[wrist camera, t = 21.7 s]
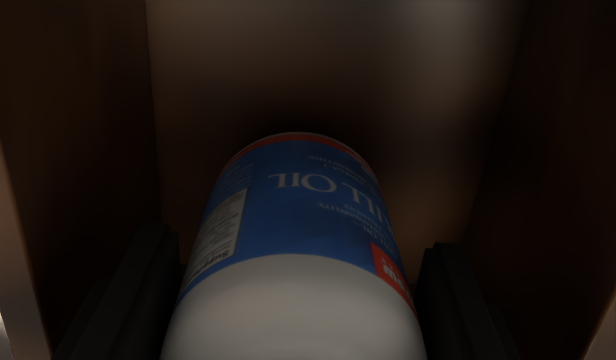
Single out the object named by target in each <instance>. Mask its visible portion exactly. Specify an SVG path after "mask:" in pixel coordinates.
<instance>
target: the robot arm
mask: <svg viewBox="0 0 616 360" xmlns="http://www.w3.org/2000/svg"><path fill="white" fill-rule="evenodd" d="M180 286H181V269H180V252H179V235H178V231H177V230H170V225H169V224H168V223H154V222H143V223H142V224H141V226H140V228H139V230H138V231H137V233H136V235H135V237H134V239H133V241H132V243H131V245H130V246H129V248H128V250H127V252H126V254H125V256H124V258H123V260H122V262H121V263H120V265H119V267H118V269H117V271H116V273H115V275H114V277H113V278H106V277H101V278H99V279H97V281H96V282H95V283H94V285H93V287H92V288H91V290H90V292H89V294H88V295H87V297H86V299H85V301H84V302H83V304H82V306H81V308H80V309H79V311H78V313H77V315H76V316H75V318H74V320H73V322H72V323H71V325H70V327H69V329H68V330H67V332H66V334H65V336H64V337H63V339H62V341H61V343H60V344H59V346H58V348H57V350H56V351H55V353H54V355H53V357H52V358H51V360H159V357H160V353H161V349H162V345H163V341H164V338H165V335H166V331H167V328H168V324H169V321H170V317H171V314H172V311H173V308H174V305H175V302H176V299H177V296H178V293H179V290H180ZM413 301H414V306H415V309H416V311H417V316H418V320H419V323H420V327H421V331H422V335H423V340H424V344H425V349H426V353H427V358H428V360H521V358H520V355H519V353H518V351H517V348H516V346H515V344H514V342H513V339H512V337H511V335H510V332H509V330H508V328H507V325H506V323H505V321H504V318H503V316H502V314H501V312H500V310H499V308H498V306H496V305H495V304H491V303H485V301H484V299H483V296H482V294H481V292H480V289H479V287H478V284H477V282H476V279H475V277H474V274H473V272H472V269H471V267H470V264H469V262H468V259H467V257H466V254H465V252H464V249H463V247H462V245H461V244H456V243H442V242H436V243H434V245H433V248H426V249H425V251H424V255H423V259H422V264H421V268H420V273H419V277H418V282H417V286H416V291H415V295H414V300H413Z"/></svg>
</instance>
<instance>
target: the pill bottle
mask: <svg viewBox="0 0 616 360" xmlns="http://www.w3.org/2000/svg"><path fill="white" fill-rule="evenodd" d="M159 360H428V358H427V353H426V349H425V344H424V340H423V335H422V331H421V327H420V323H419V320H418V316H417V311H416V309H415V306H414V301H413V298H412V294H411V291H410V288H409V283H408V280H407V277H406V274H405V270H404V267H403V263H402V259H401V256H400V253H399V250H398V246H397V242H396V239H395V235H394V232H393V228H392V224H391V221H390V217H389V213H388V209H387V205H386V202H385V198H384V195H383V192H382V189H381V187H380V184H379V182H378V180H377V178H376V176H375V174H374V173H373V171H372V170H371V168H370V167H369V165H368V164H367V163H366V162H365V160H364V159H363V158H362V157H361V156H360V155H358V154H357V153H356V152H355V151H354V150H352V149H351V148H350V147H348V146H347V145H345V144H343V143H341V142H339V141H337V140H335V139H333V138H330V137H327V136H324V135H321V134H317V133H311V132H286V133H279V134H275V135H271V136H268V137H265V138H262V139H259V140H257V141H255V142H253V143H251V144H250V145H248V146H246V147H245V148H243V149H242V150H241V151H239V152H238V153H237V154H236V155H235V156H234V157H233V158H232V159H231V160H230V161H229V162H228V163H227V164H226V165H225V166H224V168H223V169H222V171H221V172H220V174H219V175H218V177H217V179H216V181H215V183H214V185H213V188H212V190H211V193H210V195H209V198H208V201H207V204H206V208H205V211H204V214H203V218H202V221H201V224H200V228H199V231H198V234H197V237H196V240H195V243H194V246H193V249H192V252H191V255H190V258H189V261H188V265H187V268H186V271H185V274H184V277H183V280H182V283H181V286H180V290H179V293H178V296H177V299H176V302H175V305H174V308H173V311H172V314H171V317H170V321H169V324H168V328H167V331H166V335H165V338H164V341H163V345H162V349H161V353H160V357H159Z"/></svg>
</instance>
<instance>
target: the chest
mask: <svg viewBox="0 0 616 360" xmlns="http://www.w3.org/2000/svg"><path fill="white" fill-rule="evenodd" d="M286 132H311V133H317V134H321V135H324V136H327V137H330V138H333V139H335V140H337V141H339V142H341V143H343V144H345V145H347V146H348V147H350V148H351V149H352V150H354V151H355V152H356V153H357V154H358V155H360V156H361V157H362V158H363V159H364V160H365V162H366V163H367V164H368V165H369V167H370V168H371V170H372V171H373V173H374V174H375V176H376V178H377V180H378V182H379V184H380V187H381V189H382V192H383V195H384V198H385V202H386V205H387V209H388V213H389V217H390V221H391V224H392V228H393V232H394V235H395V239H396V242H397V246H398V250H399V253H400V256H401V259H402V263H403V267H404V270H405V274H406V277H407V280H408V283H409V288H410V291H411V294H412V298H413V300H414V295H415V291H416V286H417V282H418V277H419V273H420V268H421V264H422V259H423V255H424V251H425V249H426V248H433V245H434V243H436V242H442V243H456V244H461V245H462V247H463V249H464V252H465V254H466V257H467V259H468V262H469V264H470V267H471V269H472V272H473V274H474V277H475V279H476V282H477V284H478V287H479V289H480V292H481V294H482V296H483V299H484V301H485V303H491V304H495V305H496V306H498V308H499V310H500V312H501V314H502V316H503V318H504V321H505V323H506V325H507V328H508V330H509V332H510V335H511V337H512V339H513V342H514V344H515V346H516V348H517V351H518V353H519V355H520V358H521V360H616V0H0V313H1V316H2V319H3V323H4V326H5V329H6V332H7V336H8V339H9V342H10V346H11V349H12V352H13V355H14V359H15V360H51V358H52V357H53V355H54V353H55V351H56V350H57V348H58V346H59V344H60V343H61V341H62V339H63V337H64V336H65V334H66V332H67V330H68V329H69V327H70V325H71V323H72V322H73V320H74V318H75V316H76V315H77V313H78V311H79V309H80V308H81V306H82V304H83V302H84V301H85V299H86V297H87V295H88V294H89V292H90V290H91V288H92V287H93V285H94V283H95V282H96V281H97V279H99V278H101V277H106V278H113V277H114V275H115V273H116V271H117V269H118V267H119V265H120V263H121V262H122V260H123V258H124V256H125V254H126V252H127V250H128V248H129V246H130V245H131V243H132V241H133V239H134V237H135V235H136V233H137V231H138V230H139V228H140V226H141V224H142V223H143V222H154V223H168V224H169V225H170V230H177V231H178V235H179V252H180V269H181V283H182V280H183V277H184V274H185V271H186V268H187V265H188V261H189V258H190V255H191V252H192V249H193V246H194V243H195V240H196V237H197V234H198V231H199V228H200V224H201V221H202V218H203V214H204V211H205V208H206V204H207V201H208V198H209V195H210V193H211V190H212V188H213V185H214V183H215V181H216V179H217V177H218V175H219V174H220V172H221V171H222V169H223V168H224V166H225V165H226V164H227V163H228V162H229V161H230V160H231V159H232V158H233V157H234V156H235V155H236V154H237V153H238V152H239V151H241V150H242V149H243V148H245V147H246V146H248V145H250V144H251V143H253V142H255V141H257V140H259V139H262V138H265V137H268V136H271V135H275V134H279V133H286Z"/></svg>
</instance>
